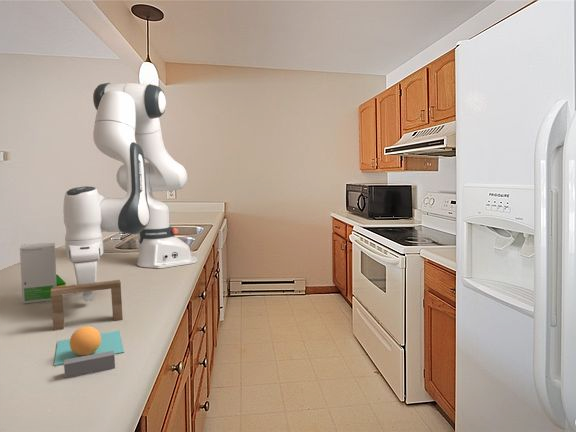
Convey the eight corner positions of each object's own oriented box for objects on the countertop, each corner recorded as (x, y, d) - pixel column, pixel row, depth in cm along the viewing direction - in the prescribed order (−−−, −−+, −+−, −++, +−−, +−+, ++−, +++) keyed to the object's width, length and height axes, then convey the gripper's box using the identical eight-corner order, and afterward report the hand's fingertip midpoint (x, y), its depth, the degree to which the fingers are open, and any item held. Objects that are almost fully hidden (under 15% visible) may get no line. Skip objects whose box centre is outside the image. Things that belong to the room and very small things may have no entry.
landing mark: (119, 331, 91) (119, 330, 90) (124, 352, 80) (123, 351, 80) (57, 341, 85) (57, 340, 85) (54, 366, 75) (54, 365, 75)
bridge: (54, 326, 94) (51, 287, 93) (121, 315, 100) (119, 279, 99) (53, 330, 91) (50, 290, 90) (122, 319, 98) (120, 282, 97)
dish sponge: (39, 295, 120) (39, 287, 120) (32, 285, 131) (32, 277, 130) (66, 290, 124) (66, 282, 124) (57, 281, 135) (57, 274, 135)
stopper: (114, 363, 75) (113, 350, 75) (115, 367, 74) (114, 354, 73) (65, 373, 72) (64, 359, 72) (65, 378, 70) (64, 364, 70)
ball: (101, 344, 83) (99, 319, 82) (102, 357, 78) (100, 331, 77) (71, 350, 81) (68, 324, 80) (70, 364, 76) (68, 337, 75)
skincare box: (22, 304, 110) (17, 248, 108) (24, 297, 116) (20, 244, 114) (57, 299, 114) (53, 245, 112) (58, 293, 119) (54, 241, 118)
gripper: (72, 243, 114) (75, 291, 116) (70, 257, 96) (74, 313, 98) (97, 241, 117) (99, 288, 119) (99, 254, 99) (102, 309, 101)
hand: (88, 299), depth 108 cm, fingers closed
